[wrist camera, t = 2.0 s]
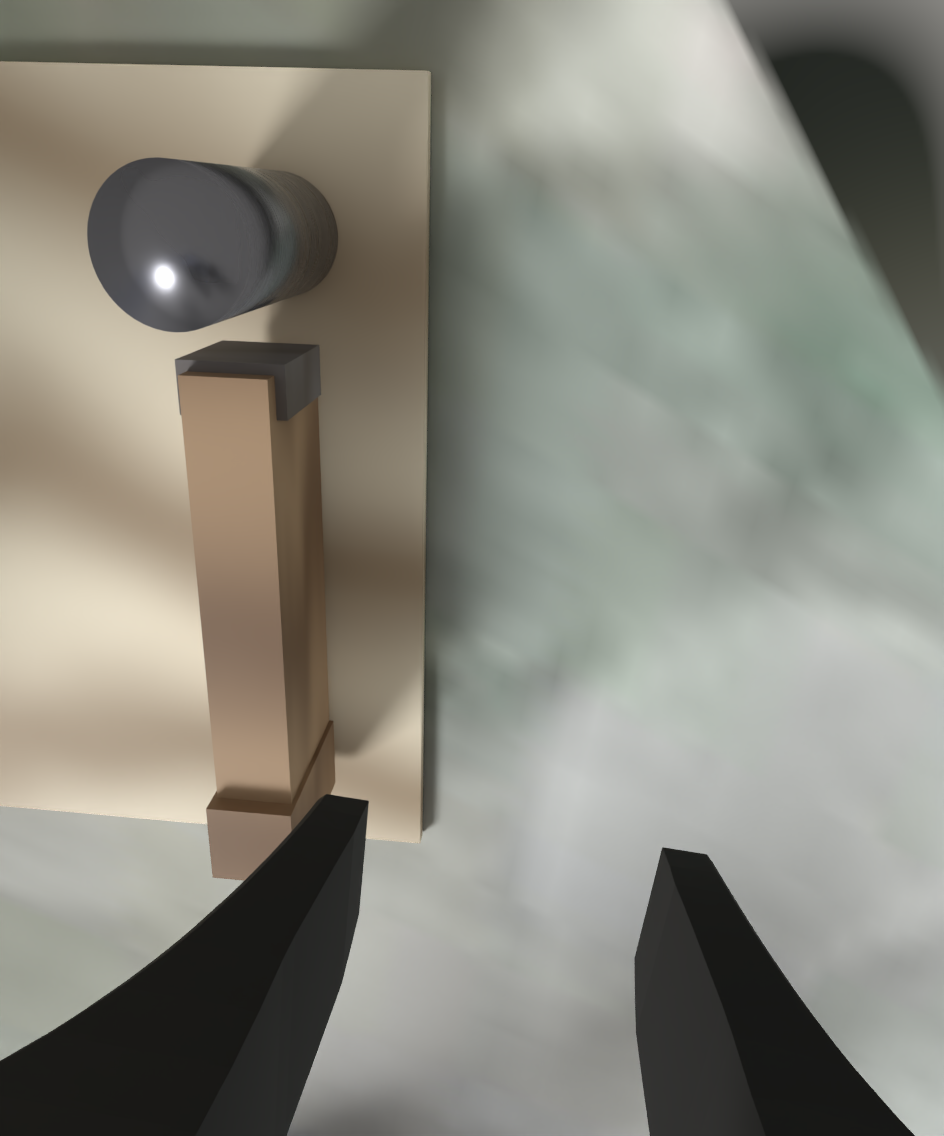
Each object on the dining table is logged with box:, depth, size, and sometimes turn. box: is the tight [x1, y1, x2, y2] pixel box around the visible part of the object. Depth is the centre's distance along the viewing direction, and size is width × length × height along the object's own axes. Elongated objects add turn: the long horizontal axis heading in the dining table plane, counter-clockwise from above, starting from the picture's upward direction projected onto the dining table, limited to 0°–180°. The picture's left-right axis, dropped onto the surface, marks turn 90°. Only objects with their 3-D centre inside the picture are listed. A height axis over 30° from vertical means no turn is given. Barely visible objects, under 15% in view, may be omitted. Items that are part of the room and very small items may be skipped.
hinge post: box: [87, 157, 338, 332], centre depth 16 cm, size 2×2×6 cm
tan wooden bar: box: [175, 340, 335, 880], centre depth 19 cm, size 11×2×4 cm, turn 178°
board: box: [0, 61, 431, 843], centre depth 21 cm, size 18×16×1 cm
